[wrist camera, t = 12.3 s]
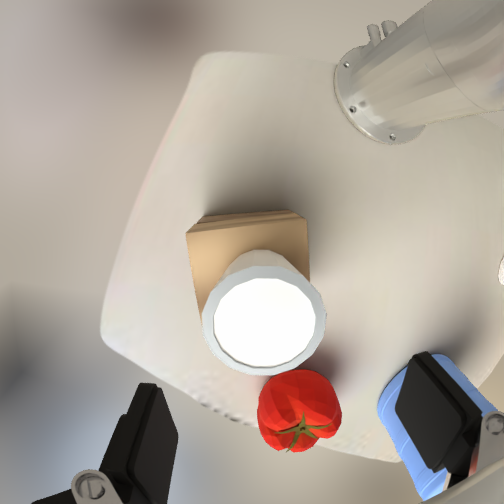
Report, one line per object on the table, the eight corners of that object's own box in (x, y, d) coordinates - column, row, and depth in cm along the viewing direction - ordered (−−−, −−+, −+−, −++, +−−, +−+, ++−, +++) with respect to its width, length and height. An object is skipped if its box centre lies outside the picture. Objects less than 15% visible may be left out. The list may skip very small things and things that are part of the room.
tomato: (315, 345, 34) (336, 391, 25) (337, 400, 36) (355, 443, 28) (238, 374, 34) (239, 425, 25) (272, 424, 37) (278, 470, 28)
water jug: (361, 424, 39) (417, 552, 12) (398, 352, 35) (504, 492, 8) (425, 413, 40) (487, 510, 13) (461, 349, 36) (555, 442, 9)
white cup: (207, 249, 21) (187, 277, 14) (298, 233, 21) (321, 254, 14) (225, 330, 22) (217, 383, 15) (309, 316, 22) (330, 365, 15)
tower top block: (194, 224, 25) (185, 233, 20) (294, 212, 25) (306, 219, 21) (209, 314, 27) (204, 338, 23) (300, 304, 27) (311, 326, 23)
